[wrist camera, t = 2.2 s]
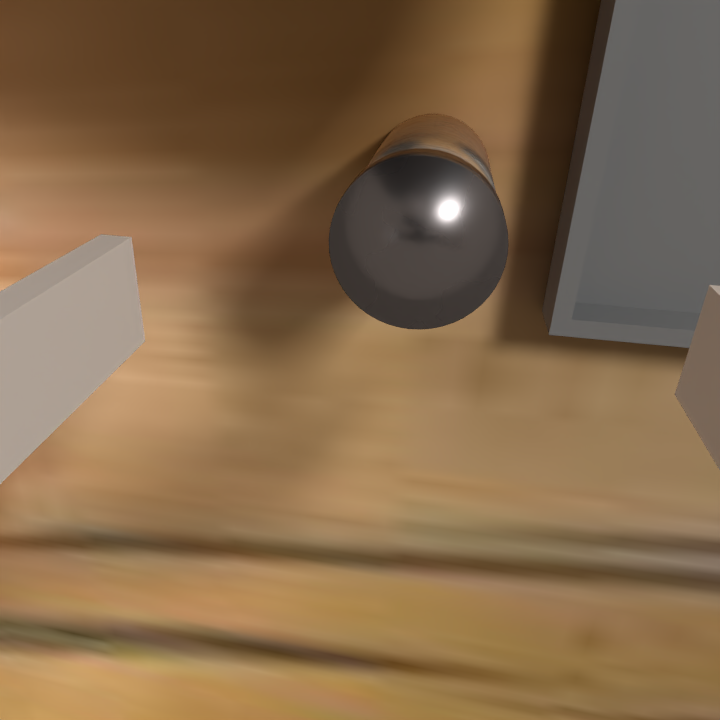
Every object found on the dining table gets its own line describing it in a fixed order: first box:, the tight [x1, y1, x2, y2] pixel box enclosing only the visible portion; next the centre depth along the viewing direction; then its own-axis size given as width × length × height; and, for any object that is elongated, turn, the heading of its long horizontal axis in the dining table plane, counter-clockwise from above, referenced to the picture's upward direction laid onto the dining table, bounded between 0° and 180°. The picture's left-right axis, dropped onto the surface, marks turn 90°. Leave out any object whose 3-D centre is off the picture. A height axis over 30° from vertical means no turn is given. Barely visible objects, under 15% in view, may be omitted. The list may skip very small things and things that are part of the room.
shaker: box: [329, 114, 508, 329], centre depth 23 cm, size 5×5×10 cm
